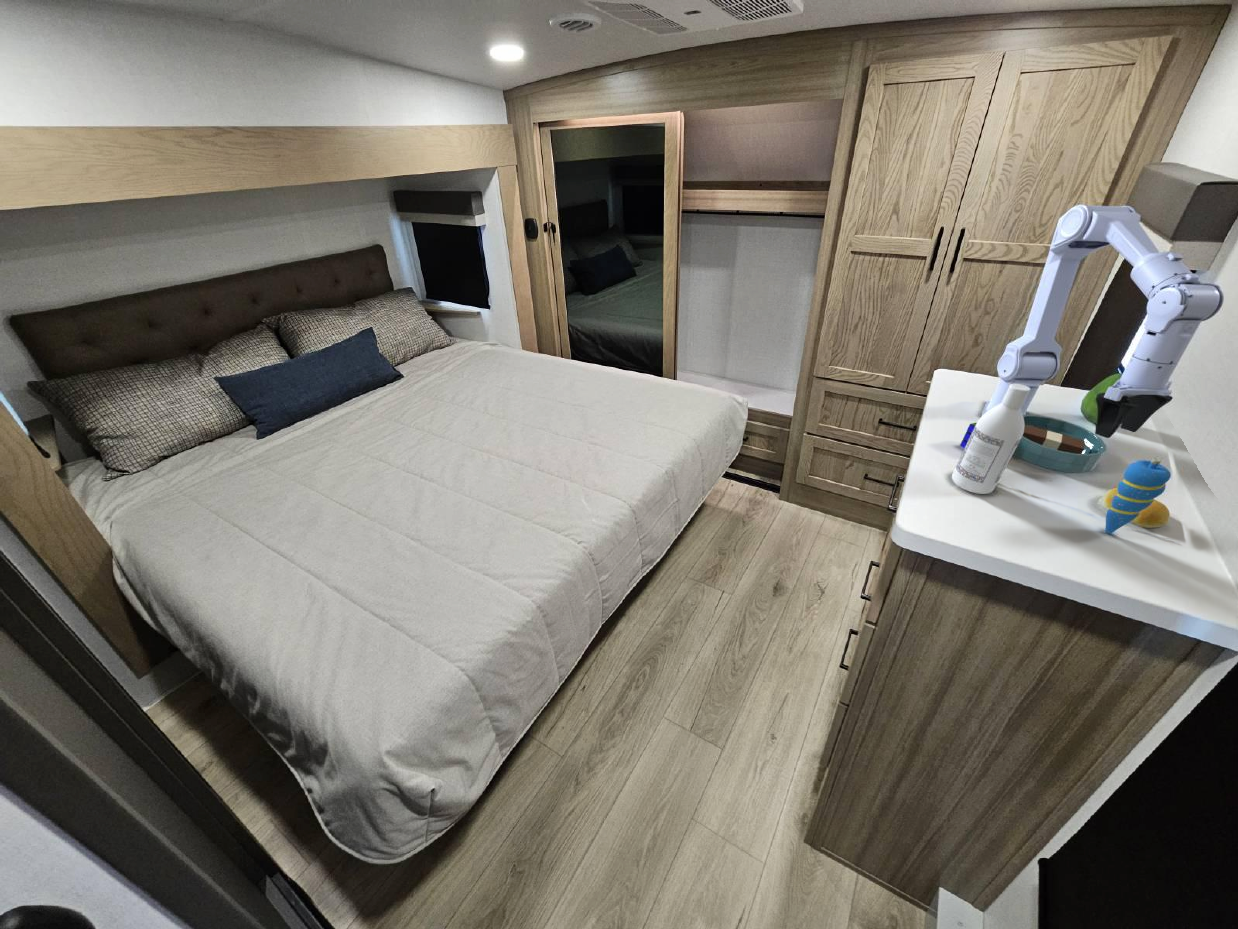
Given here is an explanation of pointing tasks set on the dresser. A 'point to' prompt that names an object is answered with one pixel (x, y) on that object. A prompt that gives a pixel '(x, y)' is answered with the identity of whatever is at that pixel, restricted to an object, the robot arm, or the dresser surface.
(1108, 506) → the bread roll
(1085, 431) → the bowl
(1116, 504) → the ornament
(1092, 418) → the avocado
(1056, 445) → the snack bar
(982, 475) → the bath foam
